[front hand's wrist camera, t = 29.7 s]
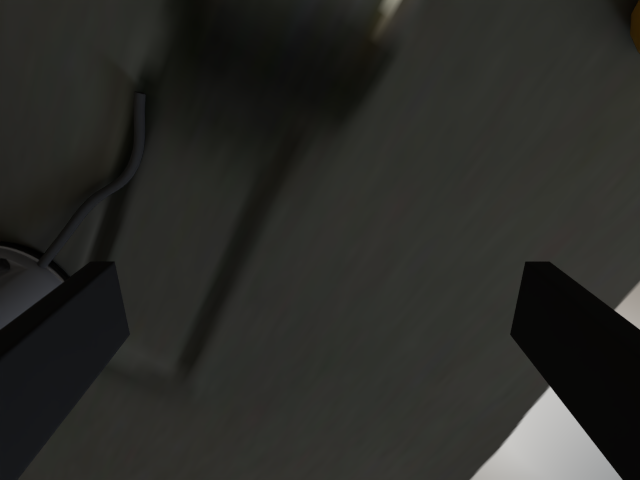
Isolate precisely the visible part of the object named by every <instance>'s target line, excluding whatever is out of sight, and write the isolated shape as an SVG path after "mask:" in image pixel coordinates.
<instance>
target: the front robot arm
mask: <svg viewBox="0 0 640 480" xmlns="http://www.w3.org/2000/svg"><path fill="white" fill-rule="evenodd" d="M145 96H146V94H144V93H141V92H134V144H133V150H132V154H131V157H130V160H129V162H128V165H127V166H126V168H125V170H124V171H123V173H122V174H121V175H120V176H119V177H118V178H117V179H115V180H114V181H113V182H111V183H110V184H108V185H107V186H105V187H103V188H102V189H100V190H99V191H97V192H96V193H94V194H93V195H92V196H91V197H89V198H88V199H87V200H86V201H85V202H84V203H83V204H82V205H81V206H80V208H79V209H78V210H77V211H76V212H75V214H74V215H73V216H72V218H71V219H70V220H69V222H68V223H67V225H66V226H65V227H64V229H63V230H62V231H61V233H60V234H59V235H58V237H57V238H56V239H55V240H54V242H53V243H52V244H51V246H50V247H49V248H48V249H47V251H46V252H45V253H44V255H41V254H40V253H38V252H36V251H34V250H31V249H29V248H26V247H24V246H21V245H17V244H13V243H8V242H0V480H18V478H19V477H20V476H21V474H22V473H23V472H24V471H25V469H26V468H27V467H28V465H29V464H30V463H31V461H32V460H33V459H34V458H35V456H36V455H37V454H38V452H39V451H40V450H41V449H42V447H43V446H44V445H45V443H46V442H47V441H48V440H49V438H50V437H51V436H52V434H53V433H54V432H55V430H56V429H57V428H58V427H59V425H60V424H61V423H62V421H63V420H64V419H65V418H66V416H67V415H68V414H69V412H70V411H71V410H72V409H73V407H74V406H75V405H76V403H77V402H78V401H79V399H80V398H81V397H82V396H83V394H84V393H85V392H86V390H87V389H88V388H89V387H90V385H91V384H92V383H93V381H94V380H95V379H96V378H97V376H98V375H99V374H100V372H101V371H102V370H103V368H104V367H105V366H106V365H107V363H108V362H109V361H110V359H111V358H112V357H113V356H114V354H115V353H116V352H117V350H118V349H119V348H120V347H121V345H122V344H123V343H124V341H125V340H126V339H127V337H128V336H129V335H130V333H129V328H128V324H127V319H126V314H125V309H124V304H123V300H122V295H121V290H120V285H119V280H118V276H117V271H116V266H115V262H89V263H88V264H87V265H85V266H84V267H83V268H81V269H80V270H79V271H77V272H76V273H75V274H74V275H72V276H71V277H70V278H69V276H68V275H67V274H66V273H65V272H64V271H63V270H62V269H61V268H60V267H59V266H57V265H56V264H55V263H54V262H52V259H53V258H54V257H55V256H56V254H57V253H58V252H59V251H60V249H61V248H62V247H63V245H64V244H65V243H66V242H67V240H68V239H69V238H70V237H71V235H72V234H73V233H74V231H75V230H76V228H77V227H78V226H79V224H80V223H81V222H82V220H83V219H84V218H85V217H86V215H87V214H88V213H89V212H90V211H91V210H92V209H93V208H94V207H95V206H96V205H97V204H98V203H99V202H100V201H102V200H103V199H104V198H106V197H107V196H109V195H111V194H112V193H114V192H116V191H117V190H119V189H120V188H122V187H123V186H124V185H125V184H126V183H128V182H129V180H130V179H131V178H132V177H133V176H134V174H135V172H136V171H137V169H138V167H139V164H140V162H141V159H142V155H143V151H144V143H145ZM510 335H511V336H512V337H513V339H514V340H515V341H516V343H517V344H518V345H519V347H520V348H521V349H522V350H523V352H524V353H525V354H526V356H527V357H528V358H529V359H530V361H531V362H532V363H533V365H534V366H535V367H536V368H537V370H538V371H539V372H540V374H541V375H542V376H543V378H544V379H545V380H546V381H547V383H548V384H549V385H550V387H551V388H552V389H553V390H554V392H555V393H556V394H557V396H558V397H559V398H560V399H561V401H562V402H563V403H564V405H565V406H566V407H567V409H568V410H569V411H570V412H571V414H572V415H573V416H574V418H575V419H576V420H577V421H578V423H579V424H580V425H581V427H582V428H583V429H584V430H585V432H586V433H587V434H588V436H589V437H590V438H591V440H592V441H593V442H594V443H595V445H596V446H597V447H598V449H599V450H600V451H601V452H602V454H603V455H604V456H605V458H606V459H607V460H608V461H609V463H610V464H611V465H612V467H613V468H614V469H615V471H616V472H617V473H618V474H619V476H620V477H621V478H622V480H640V330H639V329H638V328H637V327H636V326H634V325H633V324H632V323H630V322H629V321H628V320H626V319H625V318H624V317H622V316H621V315H620V314H618V313H617V312H616V311H614V310H613V309H612V308H610V307H609V306H608V305H606V304H605V303H604V302H602V301H601V300H600V299H598V298H597V297H596V296H594V295H593V294H592V293H590V292H589V291H588V290H586V289H585V288H584V287H582V286H581V285H580V284H578V283H577V282H576V281H574V280H573V279H572V278H570V277H569V276H568V275H566V274H565V273H564V272H563V271H561V270H560V269H559V268H557V267H556V266H555V265H553V264H552V263H551V262H525V266H524V271H523V276H522V280H521V285H520V290H519V295H518V300H517V304H516V309H515V314H514V319H513V324H512V328H511V333H510Z"/></svg>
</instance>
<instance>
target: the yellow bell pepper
mask: <svg viewBox="0 0 640 480" xmlns="http://www.w3.org/2000/svg"><path fill="white" fill-rule="evenodd" d="M630 35H631V37H632V40H633V42H634V44H635V46H636V48H637V51H638V52H639V54H640V0H638V2H637V4H636V6H635V8H634V10H633V12H632V14H631V27H630Z"/></svg>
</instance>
